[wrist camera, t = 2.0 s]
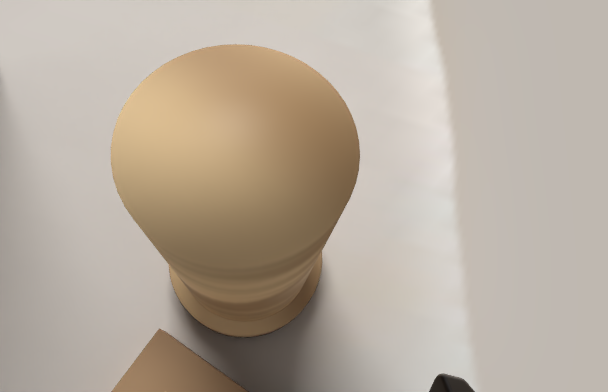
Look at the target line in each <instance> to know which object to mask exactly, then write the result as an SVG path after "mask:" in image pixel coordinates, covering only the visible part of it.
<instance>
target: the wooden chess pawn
mask: <svg viewBox="0 0 608 392" xmlns="http://www.w3.org/2000/svg"><path fill="white" fill-rule="evenodd" d="M359 160H360V150H359V139H358V134H357V130H356V126H355V123H354V121H353V118H352V115H351V113H350V111H349V109H348V107H347V105H346V103H345V102H344V100H343V99H342V97H341V96H340V95H339V93H338V92H337V90H336V89H335V88H334V87H333V86H332V85H331V84H330V83H329V82H328V81H327V80H326V79H325V78H324V77H323V76H322V75H321V74H319V73H318V72H317V71H316V70H314V69H313V68H311V67H310V66H308V65H307V64H305V63H304V62H302V61H300V60H298V59H296V58H294V57H292V56H289V55H287V54H284V53H282V52H279V51H276V50H272V49H268V48H264V47H258V46H252V45H237V44H235V45H219V46H213V47H206V48H203V49H199V50H195V51H192V52H189V53H187V54H184V55H182V56H179V57H177V58H175V59H173V60H171V61H169V62H168V63H166V64H164V65H163V66H161V67H160V68H158V69H157V70H155V71H154V72H153V73H151V74H150V75H149V76H148V77H147V78H146V79H145V80H144V81H142V82H141V84H140V85H139V86H138V87H137V88H136V89H135V90H134V92H133V93H132V94H131V96H130V97H129V99H128V100H127V102H126V103H125V105H124V107H123V109H122V111H121V113H120V115H119V117H118V119H117V123H116V126H115V129H114V132H113V138H112V144H111V166H112V173H113V178H114V182H115V185H116V188H117V191H118V194H119V196H120V198H121V200H122V202H123V204H124V206H125V207H126V209H127V210H128V212H129V213H130V215H131V216H132V217H133V219H134V220H135V222H136V223H137V224H138V225H139V227H140V228H141V229H142V231H143V232H144V233H145V234H146V236H147V237H148V238H149V240H150V241H151V242H152V243H153V245H154V246H155V247H156V249H157V250H158V251H159V252H160V254H161V255H162V256H163V258H164V259H165V260H166V261H167V263H168V264H169V272H170V277H171V282H172V285H173V288H174V290H175V292H176V294H177V296H178V298H179V300H180V301H181V303H182V304H183V306H184V307H185V308H186V309H187V311H188V312H189V313H190V314H191V315H192V316H193V317H194V318H195V319H197V320H198V321H199V322H200V323H201V324H203V325H204V326H206V327H208V328H209V329H211V330H213V331H216V332H218V333H221V334H224V335H228V336H234V337H255V336H261V335H265V334H268V333H271V332H273V331H276V330H278V329H280V328H281V327H283V326H285V325H286V324H288V323H289V322H290V321H292V320H293V319H294V318H295V317H296V316H297V315H298V314H299V313H300V312H301V311H302V310H303V309H304V307H305V306H306V304H307V303H308V302H309V300H310V299H311V297H312V295H313V293H314V292H315V289H316V287H317V284H318V282H319V278H320V274H321V267H322V249H323V248H324V246H325V244H326V242H327V240H328V238H329V236H330V234H331V233H332V231H333V229H334V227H335V225H336V223H337V221H338V219H339V218H340V216H341V214H342V212H343V210H344V208H345V206H346V205H347V203H348V201H349V199H350V197H351V194H352V192H353V189H354V186H355V184H356V179H357V175H358V171H359Z"/></svg>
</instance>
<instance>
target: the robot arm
mask: <svg viewBox="0 0 608 392" xmlns="http://www.w3.org/2000/svg"><path fill="white" fill-rule="evenodd" d="M429 392H474V390H473V389H472V388H471V387H470V386H469V384H468V383H467V382H466V381H465V380H464V379H462V378H459V377H455V376H451V375H447V374H439V375H438V376H437V377H436V378H435V380H434V382H433V384H432V387H431V389H430V391H429Z"/></svg>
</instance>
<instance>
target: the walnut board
mask: <svg viewBox="0 0 608 392" xmlns="http://www.w3.org/2000/svg"><path fill="white" fill-rule="evenodd" d="M112 392H249V391H247V390H246V389H244V388H243V387H242V386H240V385H239V384H237V383H236V382H235V381H233V380H232V379H230V378H229V377H228V376H226V375H225V374H224V373H222V372H221V371H219V370H218V369H217V368H215V367H214V366H212V365H211V364H210V363H208V362H207V361H205V360H204V359H203V358H201V357H200V356H199V355H197V354H196V353H194V352H193V351H192V350H190V349H189V348H187V347H186V346H185V345H183V344H182V343H180V342H179V341H178V340H176V339H175V338H174V337H172V336H171V335H169V334H168V333H167V332H165V331H163V330H161V329H159V330H158V331H157V332H156V334H155V335H154V336H153V338H152V339H151V340H150V342H149V343H148V344H147V345H146V347H145V348H144V349H143V351H142V352H141V353H140V355H139V356H138V357H137V359H136V360H135V361H134V363H133V364H132V365H131V367H130V368H129V369H128V371H127V372H126V373H125V375H124V376H123V377H122V378H121V380H120V381H119V382H118V384H117V385H116V386H115V388H114V389H113V390H112Z"/></svg>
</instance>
